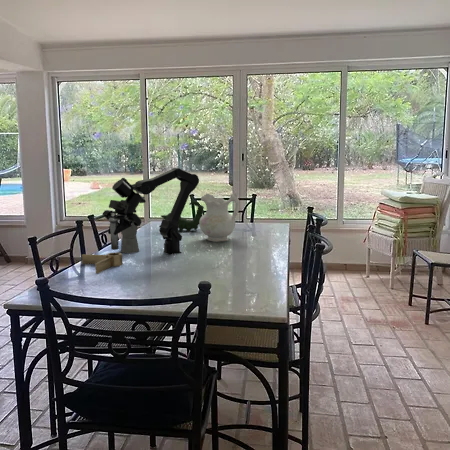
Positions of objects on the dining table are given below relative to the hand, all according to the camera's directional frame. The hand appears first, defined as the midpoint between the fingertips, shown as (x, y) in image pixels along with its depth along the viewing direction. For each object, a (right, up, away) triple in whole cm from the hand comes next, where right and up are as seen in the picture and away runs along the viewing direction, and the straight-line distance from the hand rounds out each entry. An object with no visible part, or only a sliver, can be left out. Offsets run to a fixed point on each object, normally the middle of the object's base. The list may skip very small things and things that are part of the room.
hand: (111, 234), depth 188 cm
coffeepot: (+1, -9, +29) cm, 31 cm away
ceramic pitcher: (+44, -4, +54) cm, 70 cm away
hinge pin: (+1, -6, +2) cm, 7 cm away
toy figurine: (+22, 0, +80) cm, 83 cm away
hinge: (-3, -13, +2) cm, 14 cm away
